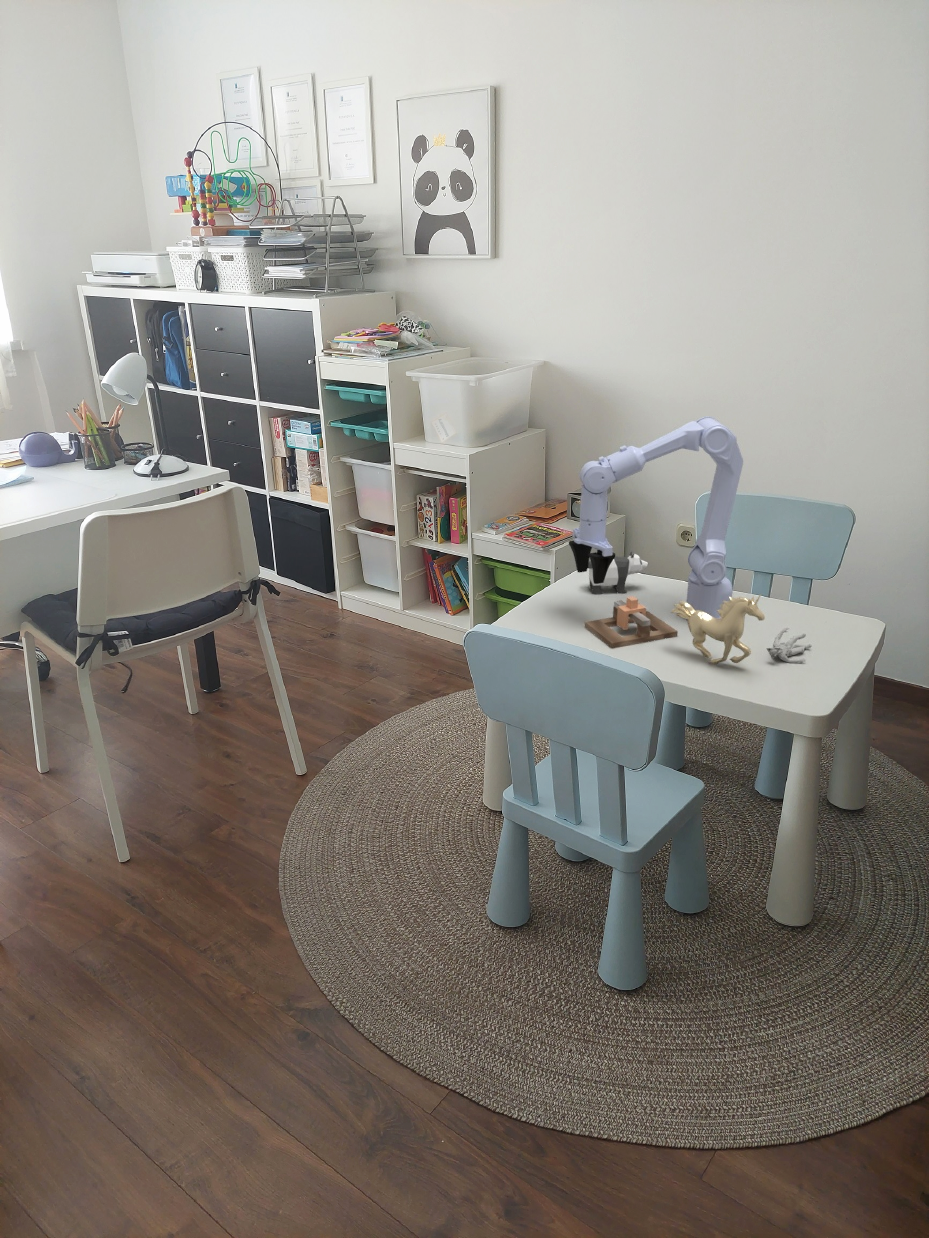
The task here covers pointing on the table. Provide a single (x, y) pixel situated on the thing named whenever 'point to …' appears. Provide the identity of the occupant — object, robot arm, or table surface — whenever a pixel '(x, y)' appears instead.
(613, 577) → the giant panda
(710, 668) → the table surface
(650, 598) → the table surface
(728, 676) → the table surface
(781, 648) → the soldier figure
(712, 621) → the unicorn
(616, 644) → the brown wooden frame
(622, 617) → the block
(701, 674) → the table surface
